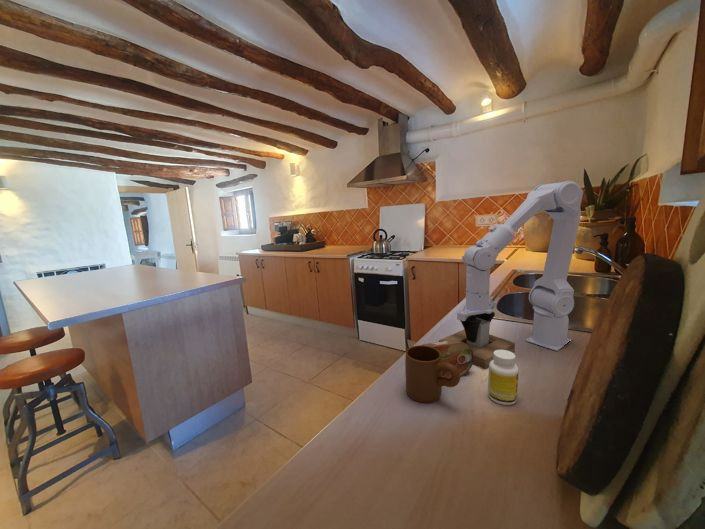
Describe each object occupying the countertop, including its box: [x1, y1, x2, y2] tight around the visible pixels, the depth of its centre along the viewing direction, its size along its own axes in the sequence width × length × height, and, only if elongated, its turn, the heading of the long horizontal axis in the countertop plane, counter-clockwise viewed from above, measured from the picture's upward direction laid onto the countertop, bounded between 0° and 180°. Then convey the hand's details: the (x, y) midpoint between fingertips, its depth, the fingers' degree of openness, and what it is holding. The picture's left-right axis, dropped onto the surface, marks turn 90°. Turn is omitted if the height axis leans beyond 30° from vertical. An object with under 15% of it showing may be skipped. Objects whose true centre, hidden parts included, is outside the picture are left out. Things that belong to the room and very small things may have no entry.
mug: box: [404, 344, 461, 404], centre depth 61 cm, size 12×8×9 cm, turn 43°
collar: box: [438, 329, 516, 370], centre depth 80 cm, size 14×14×2 cm
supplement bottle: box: [487, 350, 520, 406], centre depth 59 cm, size 5×5×10 cm
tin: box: [422, 340, 474, 378], centre depth 68 cm, size 15×3×8 cm, turn 99°
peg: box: [467, 318, 491, 349], centre depth 79 cm, size 4×4×8 cm
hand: (476, 338), depth 79 cm, fingers closed on peg, 4 cm apart
